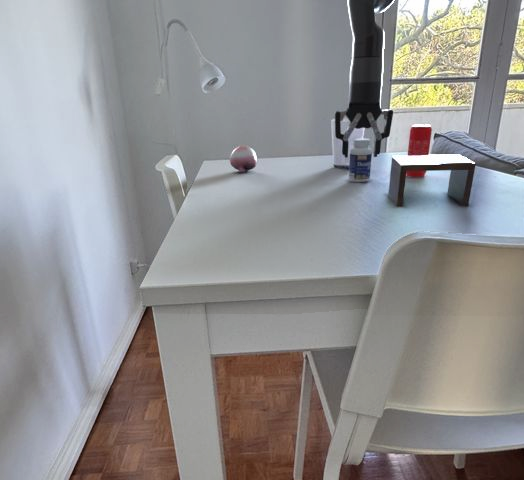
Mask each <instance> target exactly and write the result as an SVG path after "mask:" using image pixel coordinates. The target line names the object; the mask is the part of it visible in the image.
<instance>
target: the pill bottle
mask: <svg viewBox="0 0 524 480" xmlns="http://www.w3.org/2000/svg"><path fill="white" fill-rule="evenodd" d="M370 145H371V139H370V138H364V137H363V138H361V139H354V142H353V146H354V148H353V149H351V151H350V164H349V168H348V181H350V182H353V183H364V182H365V183H367V182H369V181H370V180H371V171H372V157H373V150H372V149H371V148H370Z"/></svg>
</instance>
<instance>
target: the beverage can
mask: <svg viewBox="0 0 524 480" xmlns="http://www.w3.org/2000/svg"><path fill="white" fill-rule="evenodd" d="M432 132H433V128H432V125H431V124H413V125H411V127H410V129H409V137H408V147H407V155H406V156H421V155H430V146H431V140H432V139H431V138H432ZM426 173H427V171H407V172H406V177H408V178H424V177H425V175H426Z"/></svg>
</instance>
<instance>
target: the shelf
mask: <svg viewBox="0 0 524 480" xmlns="http://www.w3.org/2000/svg"><path fill="white" fill-rule="evenodd" d="M476 165H477V163H476V162H474V161H472V160H470V159H468V158H467V157H465V156H462V155H461V154H429V155H421V156H407V155H392V156H391V164H390V174H389V185H388V196H389V197H390V199H391V200H392V202H393V203H394V205H395V206H396V207H397V208H399V207H401V208H403V206H404V198H405V191H406V188H405V187H406V181H407V174H406V172H407V171H426V172H431V171H434V172H435V171H436V172H437V171H450V174H449V179H448V186H447V191H446V192H447V195H448V196H450V197H451V198H452V199H453V200H455V201H456V202H457V203H458V204H459V205H461V206H462V207H468V206H469V204H470V198H471V193H472V187H473V182H474V176H475V170H476Z"/></svg>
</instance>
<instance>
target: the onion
mask: <svg viewBox="0 0 524 480" xmlns="http://www.w3.org/2000/svg"><path fill="white" fill-rule="evenodd" d="M229 163H230V166H231V167H232V168H233V169H235V170H237V171H236V173H243V172H248V171H251V170H253V169H255V168H256V166H257V164H258V158H257V154H256V152H255V150H254V149H253V148H251V147H250V146H247V145H241V144H239V145H238V147H235V149H233V151H232V152H231V154H230V156H229Z"/></svg>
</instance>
